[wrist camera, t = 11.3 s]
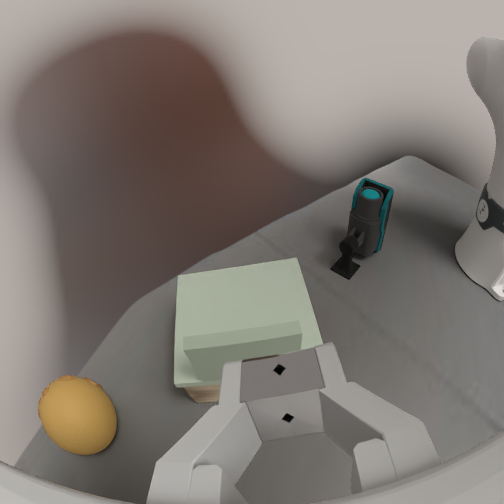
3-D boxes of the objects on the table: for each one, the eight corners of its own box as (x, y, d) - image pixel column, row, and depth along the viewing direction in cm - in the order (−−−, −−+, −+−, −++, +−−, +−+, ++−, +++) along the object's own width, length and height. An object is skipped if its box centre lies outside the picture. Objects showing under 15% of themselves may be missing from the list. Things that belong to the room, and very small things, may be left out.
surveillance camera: (331, 204, 39) (363, 176, 44) (325, 266, 48) (355, 235, 52) (367, 220, 36) (395, 189, 41) (354, 282, 44) (381, 248, 49)
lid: (296, 263, 37) (296, 215, 32) (327, 366, 27) (337, 326, 22) (180, 280, 37) (163, 235, 32) (177, 387, 26) (148, 352, 21)
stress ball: (138, 447, 29) (127, 375, 30) (85, 479, 20) (63, 396, 21) (86, 427, 32) (75, 363, 33) (35, 447, 23) (17, 374, 24)
